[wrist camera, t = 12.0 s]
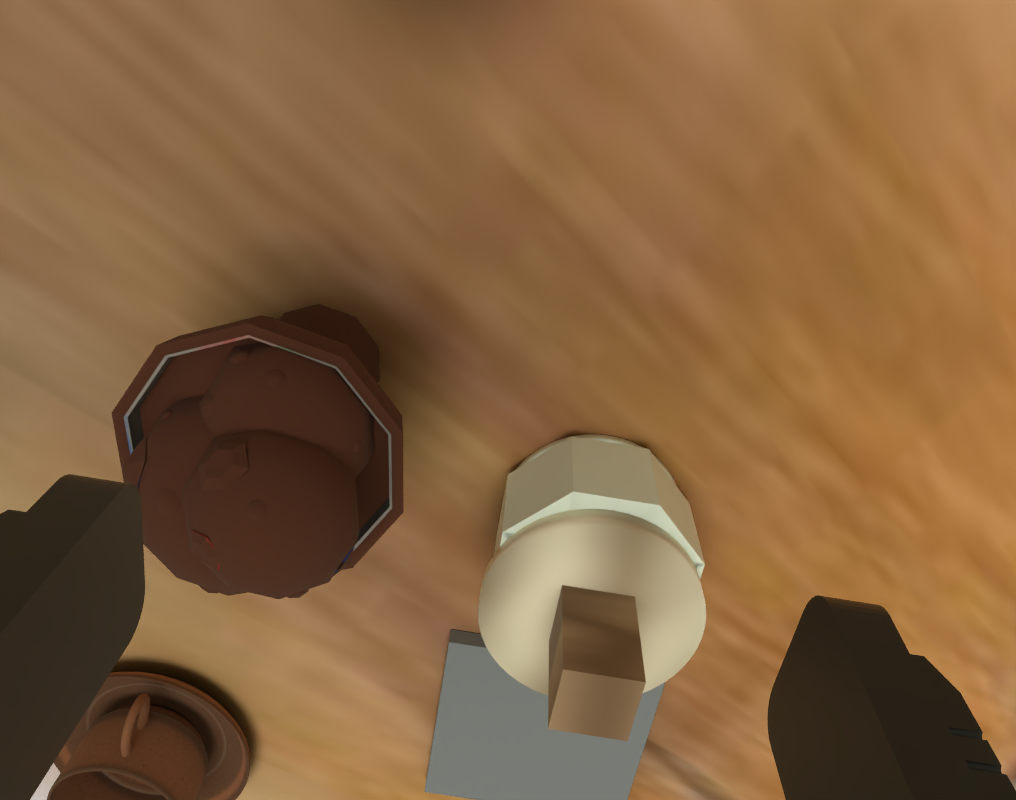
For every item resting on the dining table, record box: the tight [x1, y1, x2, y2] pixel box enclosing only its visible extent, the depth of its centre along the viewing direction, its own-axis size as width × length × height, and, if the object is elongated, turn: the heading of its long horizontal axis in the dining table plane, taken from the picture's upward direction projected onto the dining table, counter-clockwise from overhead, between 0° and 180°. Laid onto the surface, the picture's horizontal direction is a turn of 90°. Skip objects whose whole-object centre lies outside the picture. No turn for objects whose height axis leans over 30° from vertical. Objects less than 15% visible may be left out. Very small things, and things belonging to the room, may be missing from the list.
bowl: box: [495, 434, 705, 578], centre depth 41 cm, size 9×9×6 cm
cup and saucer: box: [47, 671, 250, 800], centre depth 49 cm, size 12×12×6 cm
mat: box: [425, 629, 665, 800], centre depth 49 cm, size 12×12×1 cm
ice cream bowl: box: [112, 305, 403, 599], centre depth 33 cm, size 11×11×15 cm
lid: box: [478, 509, 706, 741], centre depth 36 cm, size 10×10×6 cm
